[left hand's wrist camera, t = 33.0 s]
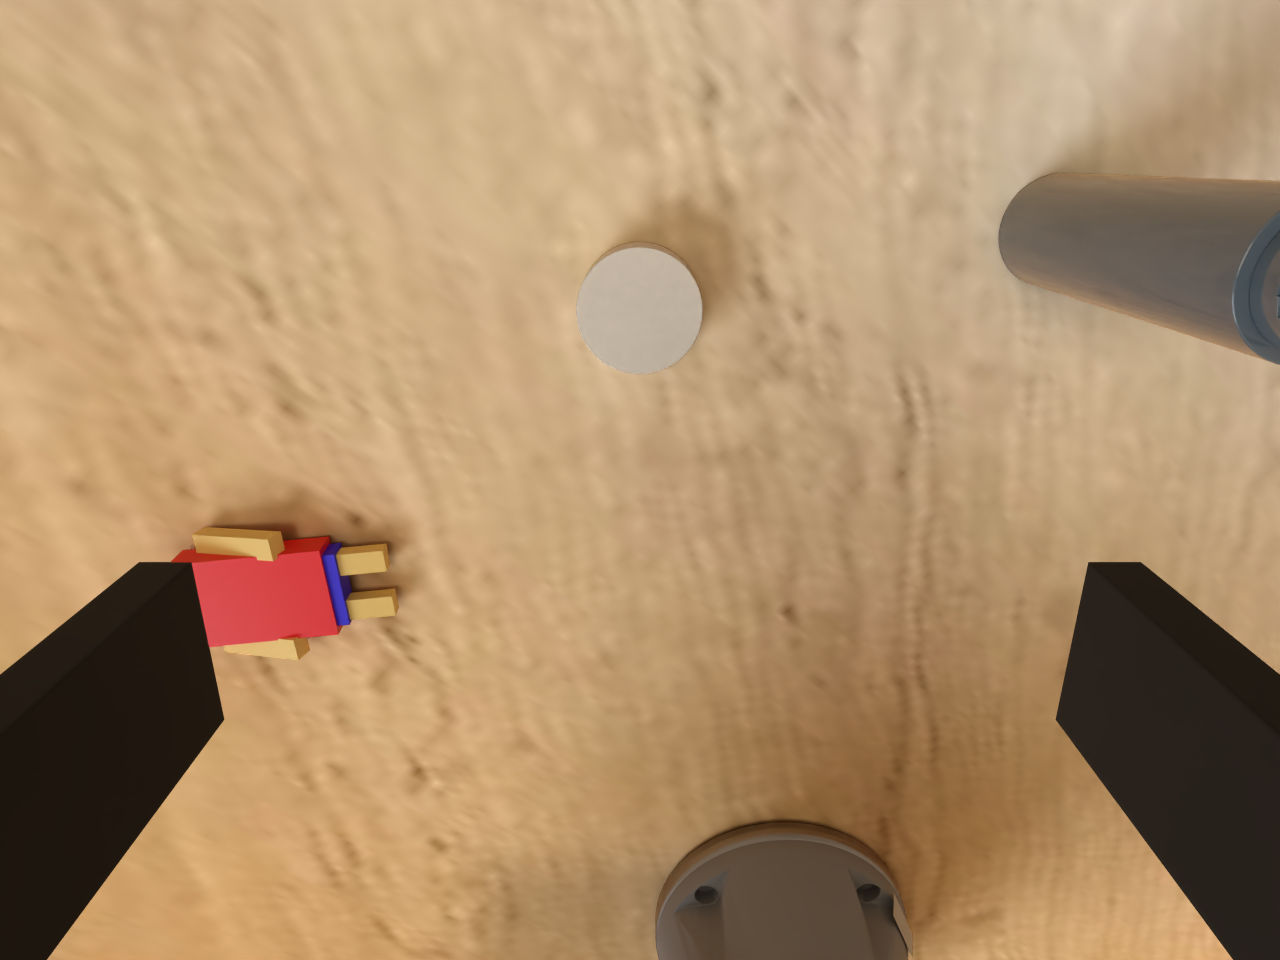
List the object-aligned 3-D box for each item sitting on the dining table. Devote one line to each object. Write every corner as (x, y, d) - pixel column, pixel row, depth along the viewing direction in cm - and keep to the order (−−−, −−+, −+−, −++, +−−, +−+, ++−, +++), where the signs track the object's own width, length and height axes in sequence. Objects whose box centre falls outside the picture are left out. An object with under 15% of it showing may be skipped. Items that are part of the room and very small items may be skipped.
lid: (559, 272, 39) (555, 278, 37) (671, 221, 38) (673, 225, 36) (609, 380, 41) (607, 393, 39) (717, 334, 40) (721, 344, 38)
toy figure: (373, 529, 42) (124, 553, 41) (398, 650, 44) (162, 673, 44) (384, 510, 44) (148, 532, 44) (407, 625, 46) (184, 647, 46)
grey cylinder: (1079, 298, 40) (1419, 407, 22) (981, 269, 39) (1250, 358, 22) (1127, 190, 38) (1536, 217, 21) (1025, 159, 38) (1354, 161, 20)
